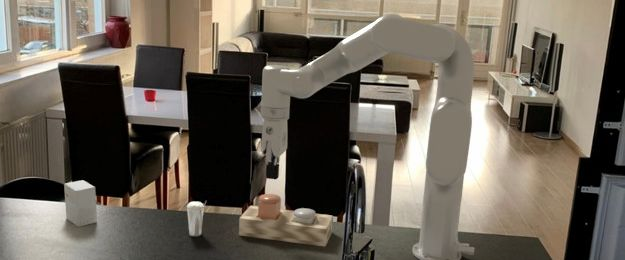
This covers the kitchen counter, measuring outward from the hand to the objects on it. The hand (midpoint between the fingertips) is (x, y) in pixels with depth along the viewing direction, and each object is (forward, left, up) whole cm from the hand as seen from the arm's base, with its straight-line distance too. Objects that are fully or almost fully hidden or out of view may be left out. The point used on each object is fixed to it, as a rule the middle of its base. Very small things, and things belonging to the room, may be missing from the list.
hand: (272, 177), depth 167 cm
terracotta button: (0, 0, -12) cm, 12 cm away
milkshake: (+18, +8, -16) cm, 26 cm away
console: (-5, 0, -16) cm, 16 cm away
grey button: (-10, 0, -15) cm, 17 cm away
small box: (+52, +9, -16) cm, 56 cm away
